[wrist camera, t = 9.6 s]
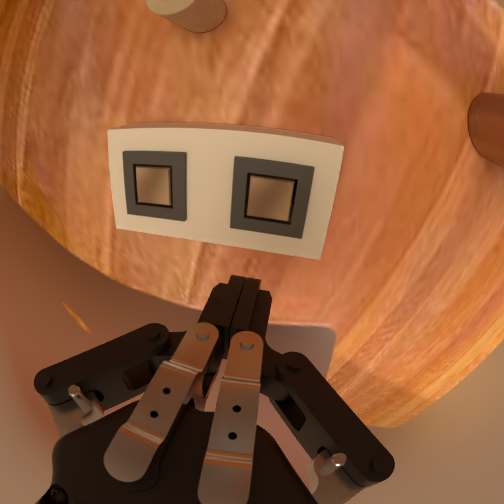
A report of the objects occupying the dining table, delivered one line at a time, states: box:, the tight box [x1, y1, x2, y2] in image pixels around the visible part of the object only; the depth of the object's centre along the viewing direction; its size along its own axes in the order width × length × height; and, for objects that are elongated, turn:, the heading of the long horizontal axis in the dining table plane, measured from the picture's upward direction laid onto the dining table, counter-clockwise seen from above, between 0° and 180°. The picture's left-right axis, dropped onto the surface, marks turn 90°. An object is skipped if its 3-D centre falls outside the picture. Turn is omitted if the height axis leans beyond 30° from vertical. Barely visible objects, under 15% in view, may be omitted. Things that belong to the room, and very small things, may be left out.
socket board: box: [108, 122, 344, 260], centre depth 29 cm, size 24×12×7 cm, turn 85°
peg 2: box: [247, 173, 294, 221], centre depth 28 cm, size 4×4×7 cm
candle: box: [146, 0, 227, 33], centre depth 17 cm, size 6×6×10 cm
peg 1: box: [136, 164, 173, 205], centre depth 29 cm, size 4×4×7 cm
